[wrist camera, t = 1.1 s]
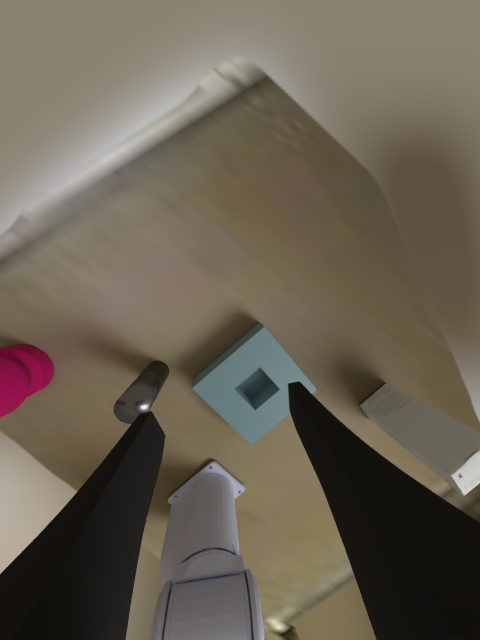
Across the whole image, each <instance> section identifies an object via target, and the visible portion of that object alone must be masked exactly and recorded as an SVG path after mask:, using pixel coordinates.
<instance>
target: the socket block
mask: <svg viewBox="0 0 480 640" xmlns="http://www.w3.org/2000/svg"><path fill="white" fill-rule="evenodd" d="M298 381H300V382H301V383H302V384H303V385H304V386H305V387H306V388H307V389H308V391H309V392H310V393H311V394H313V393H314V392H315V391H316V390H317V389H316V388H315V387H314V386H313V384H312V383H311V382H310V381H309V380H308V378H307V377H306V376H305V375H304V373H303V372H302V371H301V370H300V369H299V367H298V366H297V365H296V364H295V363H294V361H293V360H292V359H291V358H290V356H289V355H288V354H287V353H286V352H285V350H284V349H283V348H282V347H281V346H280V344H279V343H278V342H277V341H276V340H275V338H274V337H273V336H272V335H271V333H270V332H269V331H268V330H267V329H266V327H265V326H264V325H262V324H261V323H260V322H259V323H257V324H256V325H255V326H254V327H253V328H252V329H250V330H249V331H248V332H247V333H246V334H244V335H243V336H242V337H241V338H240V339H239V340H237V341H236V342H235V343H234V344H233V345H232V346H230V347H229V348H228V349H227V350H226V351H224V352H223V353H222V354H221V355H220V356H219V357H217V358H216V359H215V360H214V361H213V362H212V363H210V364H209V365H208V366H207V367H206V368H205V369H203V370H202V371H201V372H200V373H199V374H197V375H196V376H195V377H194V381H193V385H192V389H193V390H194V391H195V392H196V393H197V394H198V395H199V396H200V397H201V398H202V399H203V400H204V401H205V402H206V403H207V404H208V405H209V406H210V407H211V408H213V409H214V410H215V411H216V412H217V413H218V414H219V415H220V416H221V417H222V418H223V419H224V420H225V421H226V422H227V423H228V424H229V425H230V426H231V427H232V428H233V429H235V430H236V431H237V432H238V433H239V434H240V435H241V436H242V437H243V438H244V439H245V440H246V441H247V442H248V443H249V444H250V445H252V444H254V443H255V442H256V441H257V440H258V439H260V438H261V437H262V436H263V435H264V434H265V433H267V432H268V431H269V430H270V429H271V428H273V427H274V426H275V425H276V424H277V423H279V422H280V421H281V420H282V419H283V418H284V417H286V416H287V415H288V414H289V413H290V410H289V395H288V383H293V382H298Z"/></svg>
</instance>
